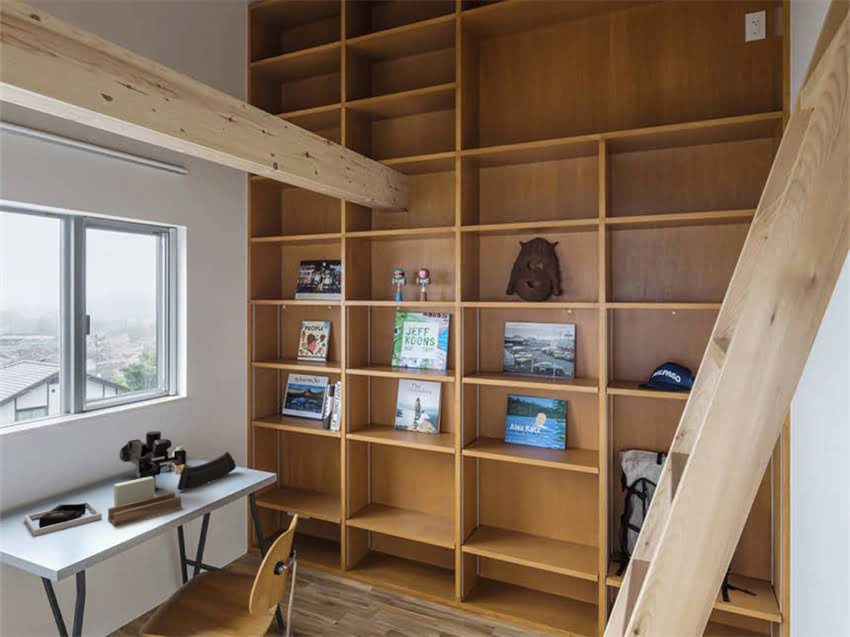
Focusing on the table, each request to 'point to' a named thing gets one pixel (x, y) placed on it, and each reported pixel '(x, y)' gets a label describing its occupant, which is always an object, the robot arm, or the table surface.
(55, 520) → the battery charger
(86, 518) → the grey frame
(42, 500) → the table surface
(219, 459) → the magazine
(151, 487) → the green book
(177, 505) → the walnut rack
